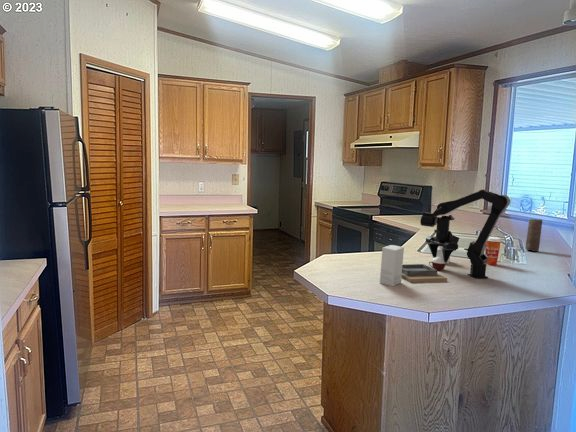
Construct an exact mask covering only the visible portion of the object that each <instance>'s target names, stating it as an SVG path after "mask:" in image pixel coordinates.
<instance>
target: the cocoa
mask: <svg viewBox="0 0 576 432" xmlns="http://www.w3.org/2000/svg"><path fill="white" fill-rule="evenodd" d="M446 265H447V264H446V263H445V262H444V258H442V257H439V256H438V257H435V258H433V257H432V261H429V262H428V266H429V267H431V268H433V269H435V270H438V271H443V270H444V269H445V268H446Z"/></svg>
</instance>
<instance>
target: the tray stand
mask: <svg viewBox="0 0 576 432" xmlns="http://www.w3.org/2000/svg"><path fill="white" fill-rule="evenodd" d="M438 272H439V270H435V269H434V268H432V267H431V266H430V265H426V264H423V263H421V264H420V263H416V264H415V263H412V264H411V263H410V264H407V263H406V264H402V276H401V279H403V280H405V281H406V282H408V283H437V282H438V283H439V282H440V283H441V282H442V283H443V282H448V277H447V276H443V275H441V274H440V273H438Z"/></svg>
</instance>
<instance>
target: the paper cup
mask: <svg viewBox="0 0 576 432" xmlns="http://www.w3.org/2000/svg"><path fill="white" fill-rule="evenodd" d="M501 243H502V238H501V237H496V236H489V238H488V240H487V242H486V246H485V251H484V255H485V256H486V257H487V258H488V261H487V263H485V264H486V265H487V264H488V266H497V264H498V259H499V255H500V248H501Z"/></svg>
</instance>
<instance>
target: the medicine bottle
mask: <svg viewBox="0 0 576 432" xmlns="http://www.w3.org/2000/svg"><path fill="white" fill-rule="evenodd" d="M442 248H443V246H442V245H441V244H440V245H439V246H438V249H437V255H436V257H438V256H439V257H442V258H443V252H442ZM450 259H451V256H450V257H449V259H448V261H447V262H446V265H447V264H448V265H449V264H450Z"/></svg>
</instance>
